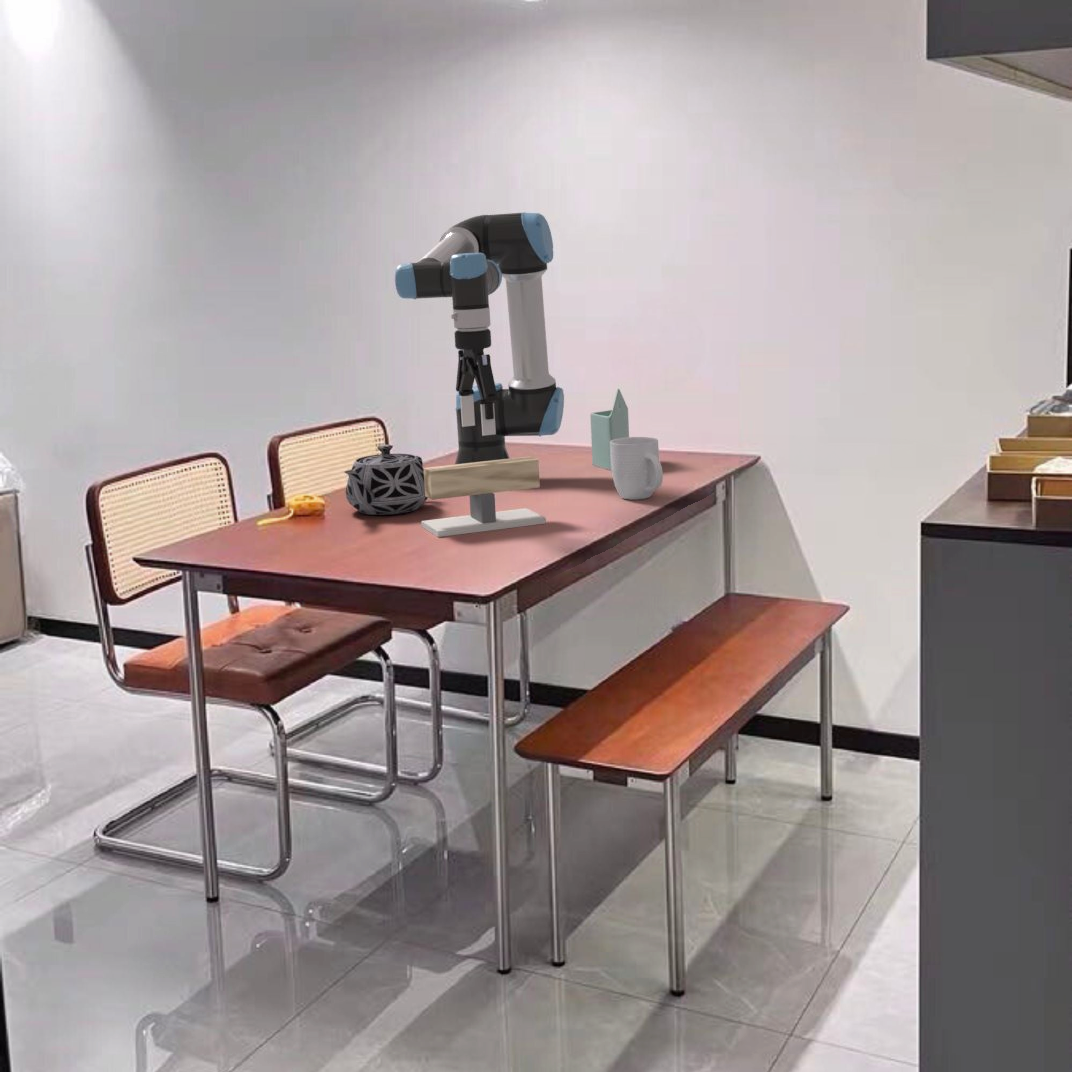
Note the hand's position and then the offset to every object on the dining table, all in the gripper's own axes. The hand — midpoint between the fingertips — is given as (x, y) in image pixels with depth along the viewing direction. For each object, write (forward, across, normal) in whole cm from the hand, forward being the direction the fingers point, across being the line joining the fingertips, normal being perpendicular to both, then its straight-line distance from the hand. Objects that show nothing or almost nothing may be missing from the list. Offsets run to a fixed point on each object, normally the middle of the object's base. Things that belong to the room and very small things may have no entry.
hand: (478, 430), depth 310 cm
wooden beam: (+13, 0, 0) cm, 13 cm away
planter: (+22, -51, +51) cm, 75 cm away
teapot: (+21, -26, -14) cm, 37 cm away
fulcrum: (+20, +1, 0) cm, 20 cm away
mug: (+21, -7, +40) cm, 45 cm away
